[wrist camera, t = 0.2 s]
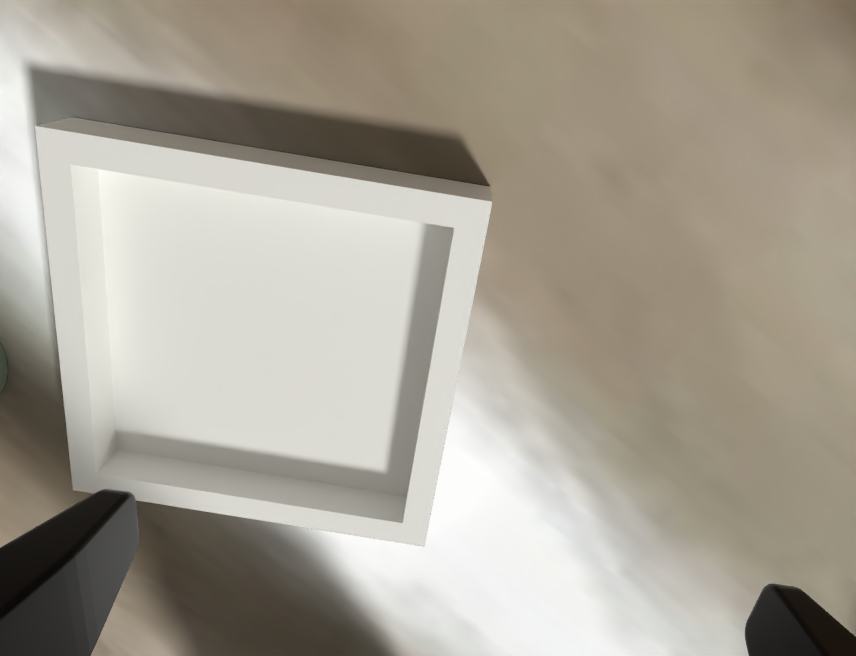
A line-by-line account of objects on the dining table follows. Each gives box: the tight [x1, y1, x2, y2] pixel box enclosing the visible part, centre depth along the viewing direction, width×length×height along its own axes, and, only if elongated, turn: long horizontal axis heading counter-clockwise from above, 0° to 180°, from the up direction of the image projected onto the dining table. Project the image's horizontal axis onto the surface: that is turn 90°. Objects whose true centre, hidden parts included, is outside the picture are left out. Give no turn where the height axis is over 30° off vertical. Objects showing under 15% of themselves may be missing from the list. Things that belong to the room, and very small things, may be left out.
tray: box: [35, 117, 492, 547], centre depth 24 cm, size 14×14×2 cm
